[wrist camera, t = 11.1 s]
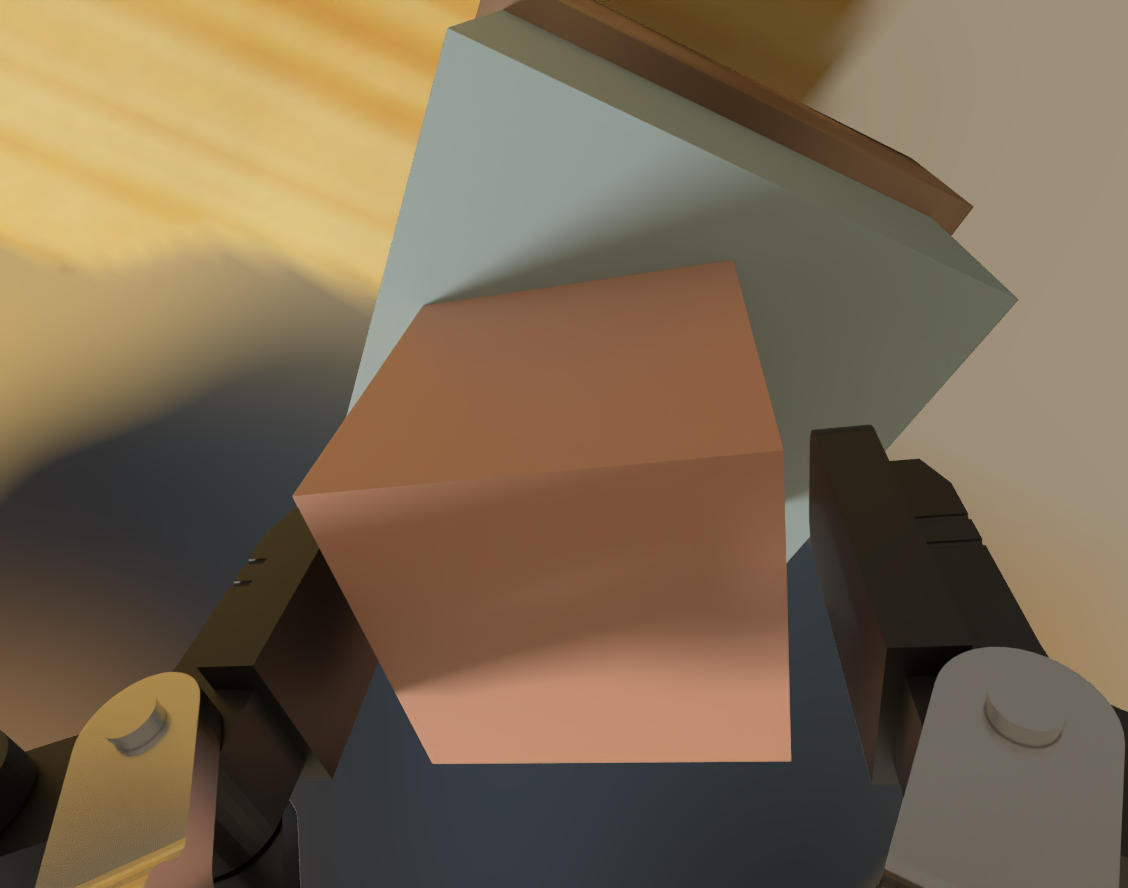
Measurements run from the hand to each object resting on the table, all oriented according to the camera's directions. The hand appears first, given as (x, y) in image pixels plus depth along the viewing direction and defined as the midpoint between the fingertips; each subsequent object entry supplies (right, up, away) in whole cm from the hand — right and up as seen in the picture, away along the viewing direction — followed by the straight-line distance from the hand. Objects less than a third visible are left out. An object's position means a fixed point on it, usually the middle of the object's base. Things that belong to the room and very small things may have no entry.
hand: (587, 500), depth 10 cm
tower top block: (+1, +4, +5) cm, 6 cm away
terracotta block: (0, +1, +2) cm, 2 cm away
